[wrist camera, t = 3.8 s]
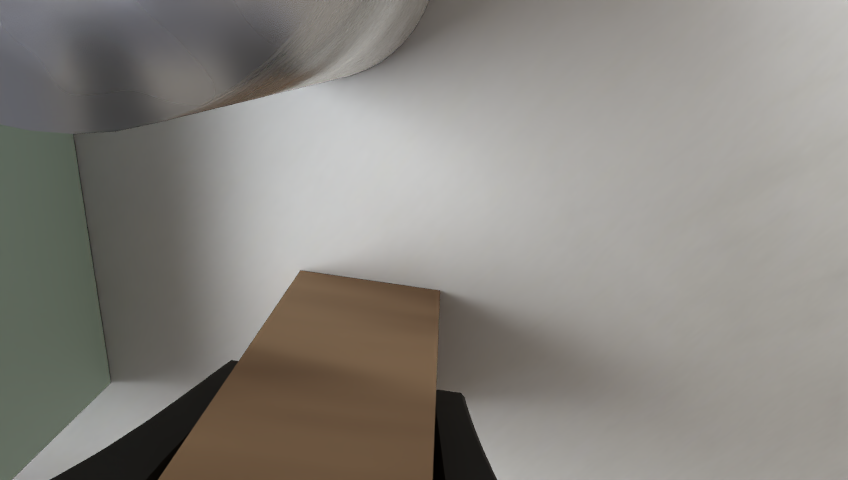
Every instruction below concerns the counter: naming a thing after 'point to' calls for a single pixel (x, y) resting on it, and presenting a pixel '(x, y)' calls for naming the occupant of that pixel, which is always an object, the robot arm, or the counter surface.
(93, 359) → the socket block
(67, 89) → the steel peg
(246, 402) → the walnut peg
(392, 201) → the counter surface
